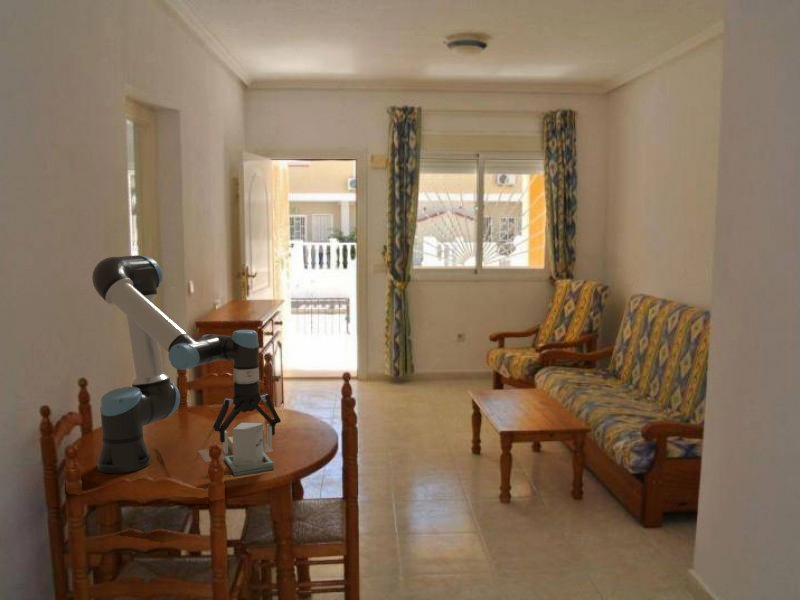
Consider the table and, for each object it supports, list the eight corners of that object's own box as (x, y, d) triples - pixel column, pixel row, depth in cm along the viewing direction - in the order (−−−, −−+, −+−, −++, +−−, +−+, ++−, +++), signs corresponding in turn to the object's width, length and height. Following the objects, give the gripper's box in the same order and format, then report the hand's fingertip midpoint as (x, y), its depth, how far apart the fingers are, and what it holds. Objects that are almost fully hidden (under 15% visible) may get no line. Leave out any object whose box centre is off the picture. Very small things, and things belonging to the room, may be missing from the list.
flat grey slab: (204, 466, 206) (204, 446, 205) (197, 455, 216) (196, 435, 216) (274, 455, 216) (273, 436, 215) (264, 445, 226) (263, 426, 226)
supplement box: (256, 470, 201) (255, 429, 200) (232, 469, 202) (231, 428, 201) (264, 462, 208) (263, 422, 207) (241, 461, 209) (240, 421, 208)
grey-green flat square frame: (233, 477, 197) (233, 468, 197) (224, 464, 208) (224, 456, 208) (273, 470, 203) (273, 462, 202) (262, 458, 213) (262, 450, 213)
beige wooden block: (232, 453, 213) (232, 443, 213) (228, 447, 219) (227, 437, 219) (254, 450, 216) (254, 440, 216) (249, 444, 222) (248, 434, 222)
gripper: (206, 388, 193) (209, 458, 196) (289, 379, 205) (290, 446, 207) (201, 382, 200) (204, 451, 202) (282, 374, 211) (283, 439, 214)
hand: (248, 448), depth 205 cm, fingers open, 13 cm apart
